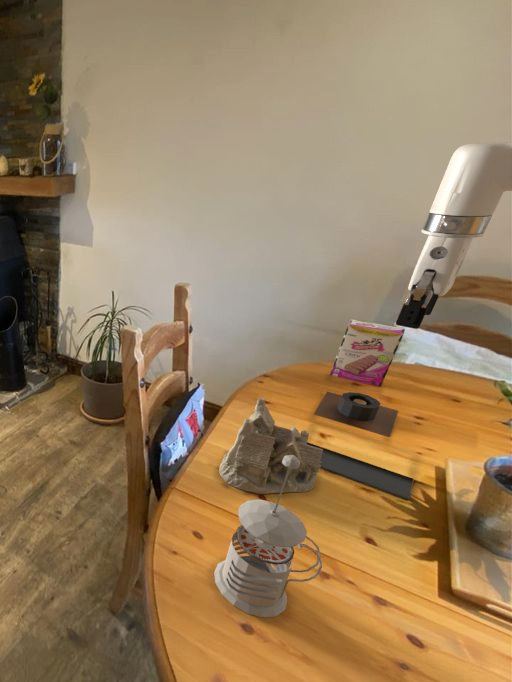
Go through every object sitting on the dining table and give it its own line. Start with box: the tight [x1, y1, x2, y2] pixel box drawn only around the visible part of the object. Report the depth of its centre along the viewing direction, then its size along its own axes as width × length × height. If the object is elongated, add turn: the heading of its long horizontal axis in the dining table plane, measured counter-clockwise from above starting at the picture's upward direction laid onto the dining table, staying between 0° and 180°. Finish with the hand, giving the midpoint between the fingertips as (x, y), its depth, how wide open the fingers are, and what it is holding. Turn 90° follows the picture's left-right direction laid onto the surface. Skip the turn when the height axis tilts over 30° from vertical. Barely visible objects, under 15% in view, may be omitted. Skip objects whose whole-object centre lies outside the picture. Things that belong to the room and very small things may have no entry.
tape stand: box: [313, 391, 399, 438], centre depth 99 cm, size 14×14×4 cm
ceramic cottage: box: [218, 397, 323, 495], centre depth 81 cm, size 16×16×15 cm
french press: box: [213, 455, 323, 619], centre depth 57 cm, size 10×12×25 cm
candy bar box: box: [329, 318, 406, 388], centre depth 110 cm, size 11×5×16 cm, turn 47°
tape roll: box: [337, 391, 381, 421], centre depth 98 cm, size 7×7×4 cm
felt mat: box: [307, 441, 414, 501], centre depth 87 cm, size 18×18×1 cm
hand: (413, 319), depth 78 cm, fingers open, 9 cm apart
